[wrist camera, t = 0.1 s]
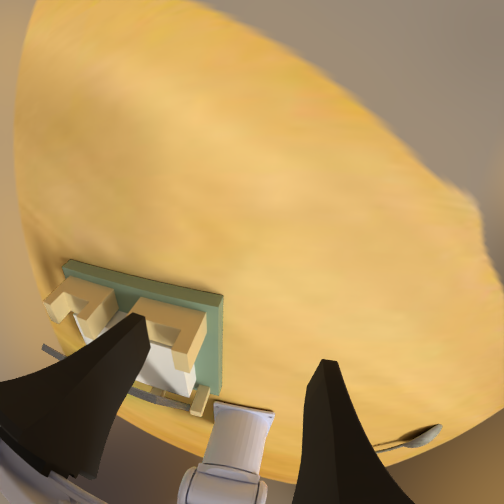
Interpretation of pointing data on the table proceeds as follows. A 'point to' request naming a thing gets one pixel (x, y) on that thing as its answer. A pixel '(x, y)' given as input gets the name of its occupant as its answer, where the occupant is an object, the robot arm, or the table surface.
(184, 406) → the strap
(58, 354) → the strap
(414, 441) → the soupspoon
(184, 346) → the board
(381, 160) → the table surface
